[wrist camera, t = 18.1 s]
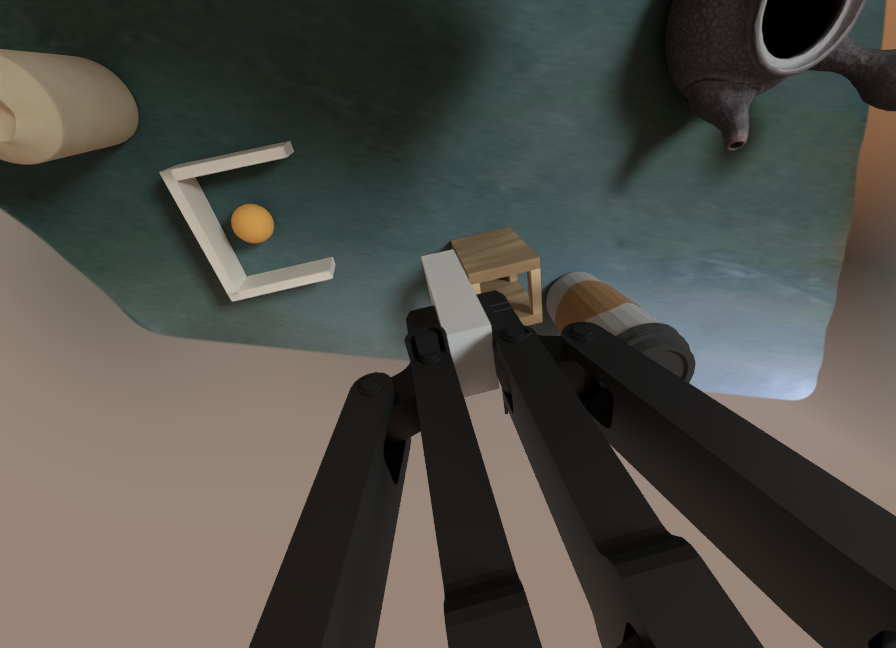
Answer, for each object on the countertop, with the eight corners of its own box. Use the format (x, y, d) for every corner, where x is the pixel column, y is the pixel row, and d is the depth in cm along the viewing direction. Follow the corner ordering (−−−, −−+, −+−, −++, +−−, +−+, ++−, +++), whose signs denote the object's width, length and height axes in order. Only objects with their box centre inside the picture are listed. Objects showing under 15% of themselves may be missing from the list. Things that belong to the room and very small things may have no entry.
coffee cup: (544, 337, 46) (610, 431, 33) (527, 280, 41) (595, 365, 29) (610, 309, 45) (702, 395, 33) (599, 248, 41) (701, 321, 28)
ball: (219, 208, 30) (261, 206, 30) (235, 201, 33) (274, 200, 33) (230, 248, 31) (270, 246, 31) (245, 238, 34) (282, 237, 34)
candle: (74, 35, 25) (-70, 12, 17) (156, 110, 28) (66, 120, 20) (29, 95, 27) (-126, 100, 18) (112, 160, 29) (10, 191, 21)
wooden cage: (450, 240, 37) (468, 274, 31) (509, 226, 38) (539, 257, 31) (460, 296, 41) (478, 337, 34) (514, 283, 41) (542, 322, 35)
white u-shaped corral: (177, 164, 30) (159, 172, 28) (290, 140, 31) (282, 145, 28) (242, 285, 36) (231, 301, 34) (335, 264, 37) (332, 278, 34)
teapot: (614, 124, 34) (692, 136, 26) (708, -118, 27) (860, -209, 19) (770, 167, 39) (878, 189, 31) (886, -27, 32) (1071, -67, 23)
